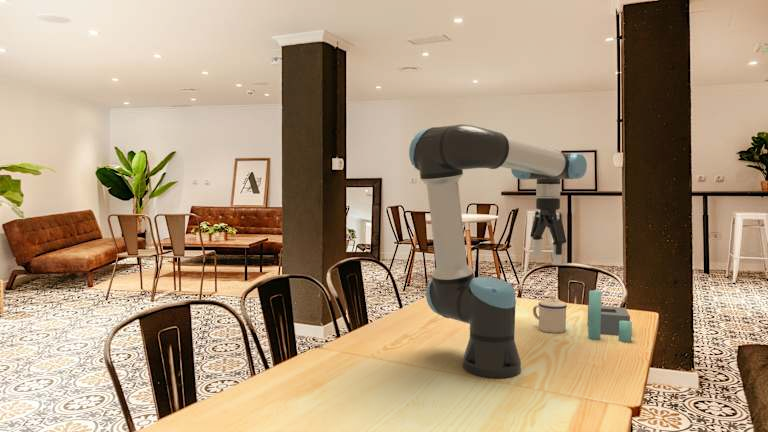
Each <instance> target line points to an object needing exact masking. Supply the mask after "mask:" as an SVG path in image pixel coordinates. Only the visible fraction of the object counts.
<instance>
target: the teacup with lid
mask: <svg viewBox="0 0 768 432" xmlns="http://www.w3.org/2000/svg"><path fill="white" fill-rule="evenodd" d="M567 307H568V305H567V303H566V302H565V301H562V300H560V299H559V298H557V295H555V294H550V295H549V297H547V298H545V299H542V300H539V302H538V304H537V305H534V307H532V313H533V316H534V318H535V319H536V320H538V329H539V330H540V331H542V332H545V333H555V334H559V333H560V334H561V333H563V332H565V331H566V329H567V328H566V327H567V326H566V325H567V321H566V320H567ZM537 309H538V314H537Z"/></svg>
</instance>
